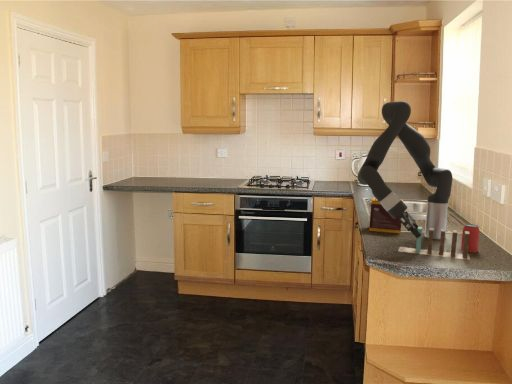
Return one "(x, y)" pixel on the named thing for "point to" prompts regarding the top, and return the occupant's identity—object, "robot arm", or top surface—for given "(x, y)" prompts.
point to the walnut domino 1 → (430, 240)
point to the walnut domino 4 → (466, 244)
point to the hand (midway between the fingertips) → (419, 234)
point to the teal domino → (419, 240)
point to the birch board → (434, 253)
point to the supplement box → (382, 219)
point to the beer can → (471, 237)
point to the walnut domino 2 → (442, 242)
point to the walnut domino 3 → (454, 243)
